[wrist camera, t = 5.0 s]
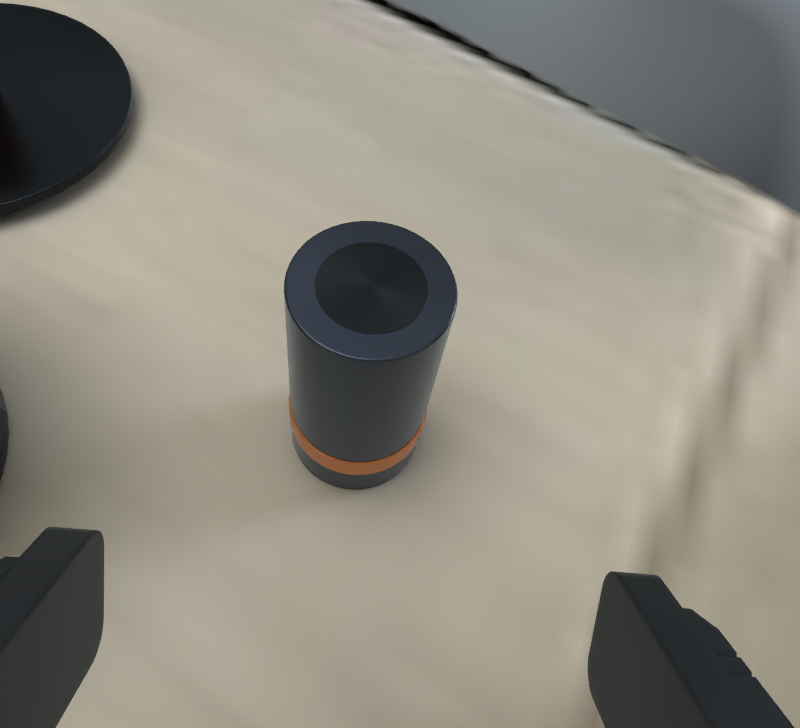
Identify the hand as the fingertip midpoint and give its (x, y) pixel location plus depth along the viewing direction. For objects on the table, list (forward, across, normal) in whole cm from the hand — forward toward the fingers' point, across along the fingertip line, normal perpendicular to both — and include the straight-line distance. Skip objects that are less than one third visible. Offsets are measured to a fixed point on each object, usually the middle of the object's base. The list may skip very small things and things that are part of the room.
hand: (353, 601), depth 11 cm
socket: (+15, 0, +3) cm, 15 cm away
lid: (+25, +18, -8) cm, 32 cm away
